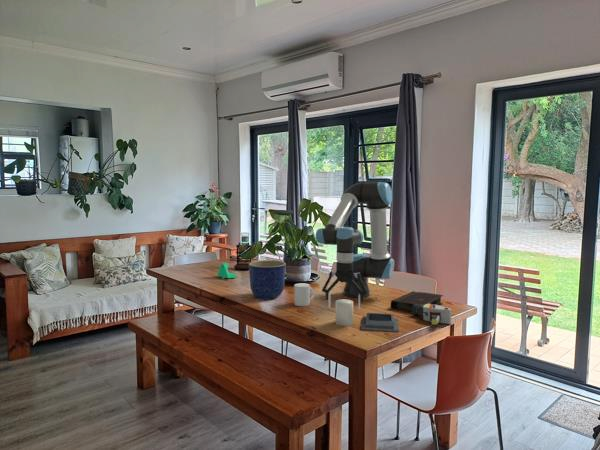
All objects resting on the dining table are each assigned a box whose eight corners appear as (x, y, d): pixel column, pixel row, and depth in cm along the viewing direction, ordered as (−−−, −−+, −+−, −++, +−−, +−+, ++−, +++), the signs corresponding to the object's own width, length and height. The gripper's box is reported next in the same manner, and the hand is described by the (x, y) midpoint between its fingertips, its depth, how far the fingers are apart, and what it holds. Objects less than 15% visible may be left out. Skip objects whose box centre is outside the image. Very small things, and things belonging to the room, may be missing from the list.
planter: (292, 298, 242) (292, 264, 241) (258, 303, 232) (258, 268, 230) (275, 290, 260) (275, 259, 258) (243, 295, 250) (242, 262, 248)
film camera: (400, 321, 205) (419, 314, 214) (437, 330, 190) (455, 322, 199) (400, 307, 204) (418, 300, 214) (436, 314, 189) (455, 307, 199)
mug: (291, 284, 231) (309, 281, 238) (291, 303, 232) (309, 300, 239) (299, 287, 224) (318, 284, 231) (299, 307, 225) (318, 303, 232)
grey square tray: (362, 318, 206) (362, 311, 206) (397, 320, 203) (397, 313, 203) (361, 329, 191) (361, 321, 190) (398, 331, 188) (399, 323, 187)
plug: (336, 319, 204) (336, 298, 203) (353, 320, 203) (353, 299, 202) (334, 325, 197) (334, 303, 196) (352, 326, 195) (352, 304, 194)
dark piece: (256, 267, 332) (255, 241, 330) (251, 271, 318) (251, 244, 316) (237, 267, 334) (236, 241, 332) (231, 270, 320) (231, 243, 318)
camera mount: (237, 278, 295) (237, 263, 294) (228, 280, 290) (227, 264, 289) (226, 275, 303) (226, 261, 303) (217, 277, 298) (217, 262, 297)
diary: (390, 309, 223) (390, 299, 223) (411, 299, 242) (411, 290, 242) (424, 315, 211) (425, 305, 211) (444, 304, 231) (444, 295, 230)
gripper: (316, 262, 196) (315, 308, 197) (372, 264, 191) (371, 311, 193) (318, 259, 203) (318, 304, 205) (373, 261, 199) (372, 307, 200)
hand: (344, 308), depth 199 cm, fingers open, 13 cm apart
